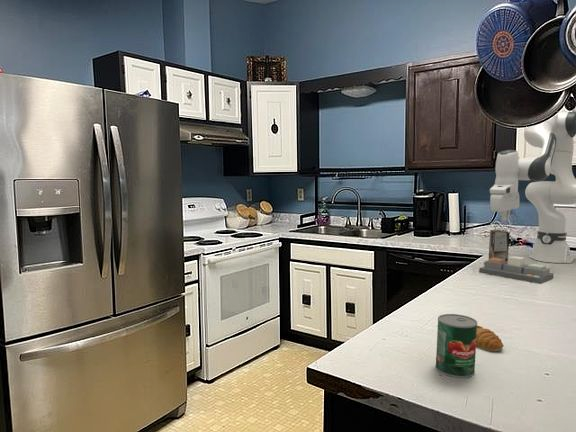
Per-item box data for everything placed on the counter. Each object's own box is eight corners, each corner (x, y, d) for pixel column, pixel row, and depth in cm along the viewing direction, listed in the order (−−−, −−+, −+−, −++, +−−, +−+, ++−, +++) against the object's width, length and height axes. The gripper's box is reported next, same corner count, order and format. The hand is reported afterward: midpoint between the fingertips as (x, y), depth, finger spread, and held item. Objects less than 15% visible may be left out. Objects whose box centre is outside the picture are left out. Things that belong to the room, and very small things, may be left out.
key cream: (512, 264, 183) (513, 255, 183) (524, 265, 179) (525, 257, 179) (507, 265, 180) (508, 257, 179) (519, 267, 176) (520, 259, 176)
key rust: (493, 265, 189) (493, 257, 189) (504, 267, 186) (505, 259, 185) (488, 266, 186) (488, 258, 186) (499, 268, 182) (500, 260, 182)
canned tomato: (460, 381, 87) (463, 329, 86) (427, 367, 93) (430, 318, 92) (482, 371, 92) (485, 321, 91) (449, 358, 98) (451, 311, 97)
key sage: (532, 271, 177) (532, 263, 177) (545, 274, 173) (545, 265, 173) (527, 273, 174) (528, 265, 174) (540, 275, 170) (541, 267, 170)
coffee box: (508, 267, 195) (510, 232, 194) (492, 266, 196) (494, 231, 195) (502, 263, 204) (504, 229, 202) (487, 262, 205) (489, 229, 204)
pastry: (511, 352, 102) (511, 336, 102) (486, 355, 101) (487, 339, 100) (484, 337, 111) (484, 323, 111) (461, 340, 110) (462, 325, 109)
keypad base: (494, 268, 194) (494, 258, 193) (553, 278, 175) (554, 267, 175) (479, 272, 185) (479, 262, 184) (540, 283, 166) (540, 272, 166)
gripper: (509, 187, 192) (508, 217, 194) (487, 189, 179) (486, 222, 181) (524, 187, 188) (522, 218, 189) (503, 189, 175) (501, 223, 176)
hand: (504, 220), depth 185 cm, fingers closed
